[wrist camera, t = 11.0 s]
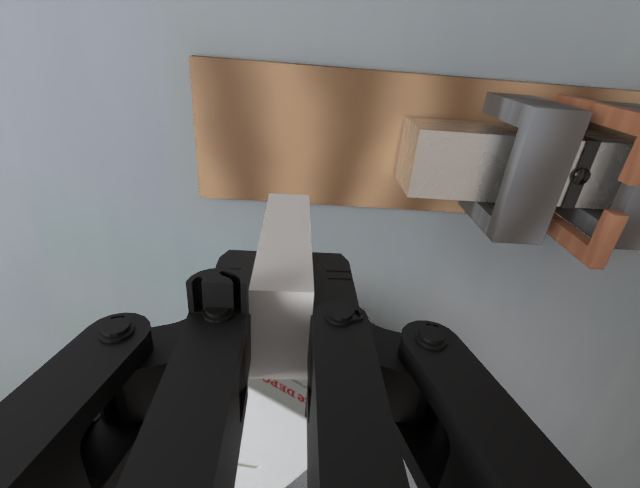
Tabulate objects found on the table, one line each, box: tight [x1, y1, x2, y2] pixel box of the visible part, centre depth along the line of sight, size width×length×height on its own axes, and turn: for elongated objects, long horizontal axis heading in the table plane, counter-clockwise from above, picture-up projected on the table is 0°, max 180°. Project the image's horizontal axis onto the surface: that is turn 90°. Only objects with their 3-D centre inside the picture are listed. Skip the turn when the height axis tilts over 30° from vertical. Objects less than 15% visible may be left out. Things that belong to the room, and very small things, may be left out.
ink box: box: [234, 376, 308, 488], centre depth 29 cm, size 9×9×12 cm
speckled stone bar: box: [394, 116, 637, 209], centre depth 25 cm, size 16×4×4 cm, turn 86°
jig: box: [189, 55, 640, 269], centre depth 23 cm, size 32×9×9 cm, turn 86°
